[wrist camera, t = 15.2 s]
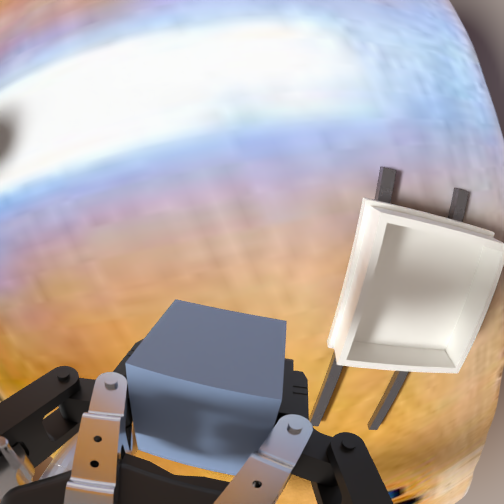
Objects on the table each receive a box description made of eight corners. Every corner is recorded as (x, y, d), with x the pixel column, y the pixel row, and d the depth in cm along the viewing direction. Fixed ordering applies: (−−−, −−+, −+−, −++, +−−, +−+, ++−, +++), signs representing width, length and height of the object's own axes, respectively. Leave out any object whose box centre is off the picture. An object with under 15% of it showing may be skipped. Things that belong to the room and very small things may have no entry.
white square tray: (437, 342, 28) (459, 376, 22) (325, 329, 29) (330, 368, 23) (477, 225, 24) (513, 241, 18) (357, 194, 25) (376, 205, 19)
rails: (375, 424, 33) (376, 429, 32) (308, 419, 34) (308, 425, 33) (463, 190, 24) (468, 192, 23) (380, 166, 25) (383, 167, 24)
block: (266, 401, 15) (255, 478, 10) (173, 381, 15) (138, 449, 10) (286, 321, 13) (281, 399, 8) (175, 299, 14) (125, 362, 9)
